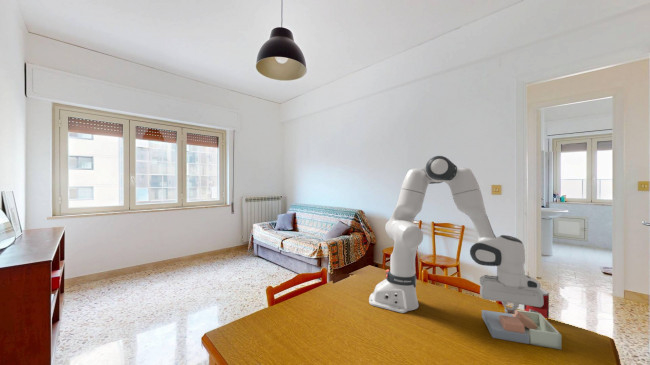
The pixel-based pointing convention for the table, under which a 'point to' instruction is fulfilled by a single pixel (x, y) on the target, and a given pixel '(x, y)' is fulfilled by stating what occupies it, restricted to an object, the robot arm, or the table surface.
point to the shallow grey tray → (498, 331)
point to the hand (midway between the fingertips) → (509, 313)
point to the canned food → (542, 310)
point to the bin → (542, 332)
